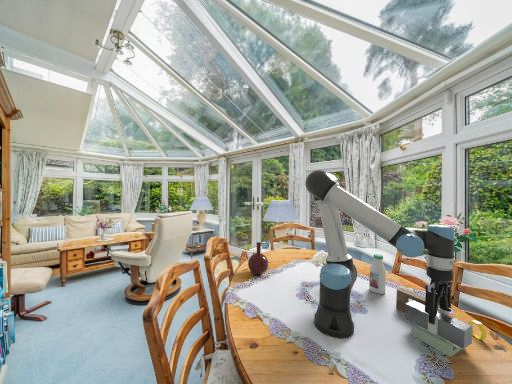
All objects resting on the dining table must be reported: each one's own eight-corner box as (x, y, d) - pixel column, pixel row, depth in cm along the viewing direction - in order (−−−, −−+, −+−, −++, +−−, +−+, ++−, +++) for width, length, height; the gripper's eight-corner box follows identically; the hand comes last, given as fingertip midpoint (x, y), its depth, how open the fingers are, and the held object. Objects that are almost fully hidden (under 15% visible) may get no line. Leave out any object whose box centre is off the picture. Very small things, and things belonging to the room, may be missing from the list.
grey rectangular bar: (405, 318, 86) (405, 303, 86) (413, 314, 88) (414, 300, 88) (463, 348, 70) (464, 330, 70) (471, 343, 72) (472, 325, 72)
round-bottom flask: (245, 270, 141) (246, 240, 141) (264, 269, 145) (264, 240, 145) (250, 279, 129) (251, 246, 128) (271, 276, 132) (272, 245, 132)
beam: (442, 331, 84) (443, 309, 84) (396, 308, 101) (396, 289, 100) (447, 328, 86) (448, 306, 86) (401, 306, 102) (401, 287, 102)
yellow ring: (465, 332, 85) (465, 317, 85) (473, 333, 84) (473, 317, 85) (480, 342, 79) (480, 325, 79) (488, 343, 78) (488, 326, 79)
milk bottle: (381, 288, 121) (382, 253, 121) (388, 295, 113) (389, 257, 113) (366, 287, 122) (368, 252, 122) (372, 293, 114) (374, 256, 114)
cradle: (464, 348, 75) (464, 338, 75) (450, 357, 71) (450, 346, 71) (425, 328, 86) (425, 319, 86) (411, 334, 82) (411, 325, 82)
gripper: (438, 274, 71) (436, 343, 71) (465, 267, 79) (462, 328, 79) (413, 267, 78) (411, 330, 78) (440, 261, 86) (438, 317, 86)
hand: (437, 329), depth 79 cm, fingers closed on grey rectangular bar, 6 cm apart
